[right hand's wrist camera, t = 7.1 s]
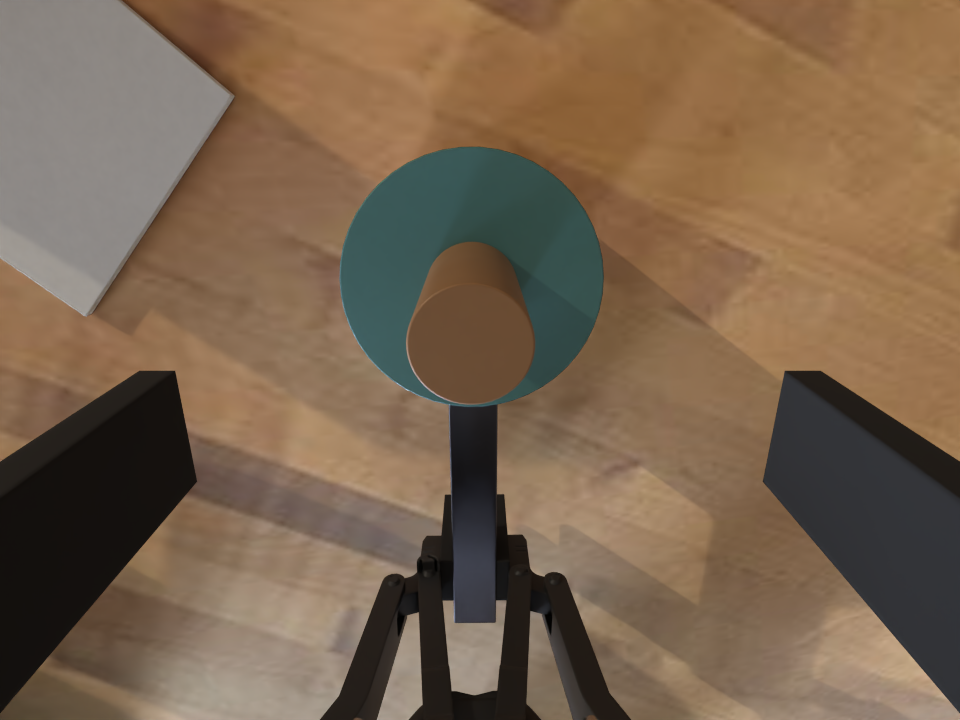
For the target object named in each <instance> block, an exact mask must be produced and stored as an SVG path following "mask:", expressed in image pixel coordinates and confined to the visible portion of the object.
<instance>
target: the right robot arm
mask: <svg viewBox="0 0 960 720" xmlns="http://www.w3.org/2000/svg"><path fill="white" fill-rule="evenodd" d="M196 482H197V479H196V474H195V469H194V464H193V459H192V454H191V449H190V444H189V439H188V434H187V429H186V424H185V418H184V413H183V408H182V403H181V398H180V393H179V388H178V383H177V378H176V373H175V371H139V372H137V373H135V374H134V375H132V376H131V377H129V378H128V379H126V380H125V381H123V382H122V383H120V384H119V385H117V386H116V387H114V388H112V389H111V390H109V391H108V392H106V393H105V394H103V395H102V396H100V397H99V398H97V399H96V400H94V401H93V402H91V403H89V404H88V405H86V406H85V407H83V408H82V409H80V410H79V411H77V412H76V413H74V414H73V415H71V416H69V417H68V418H66V419H65V420H63V421H62V422H60V423H59V424H57V425H56V426H54V427H53V428H51V429H50V430H48V431H46V432H45V433H43V434H42V435H40V436H39V437H37V438H36V439H34V440H33V441H31V442H30V443H28V444H27V445H25V446H23V447H22V448H20V449H19V450H17V451H16V452H14V453H13V454H11V455H10V456H8V457H7V458H5V459H4V460H2V461H0V713H1V712H2V710H3V709H4V708H5V707H6V706H7V705H8V703H9V702H10V701H11V700H12V699H13V697H14V696H15V695H16V694H17V693H18V692H19V690H20V689H21V688H22V687H23V686H24V685H25V683H26V682H27V681H28V680H29V679H30V677H31V676H32V675H33V674H34V673H35V672H36V670H37V669H38V668H39V667H40V666H41V665H42V663H43V662H44V661H45V660H46V659H47V657H48V656H49V655H50V654H51V653H52V652H53V650H54V649H55V648H56V647H57V646H58V645H59V643H60V642H61V641H62V640H63V639H64V637H65V636H66V635H67V634H68V633H69V632H70V630H71V629H72V628H73V627H74V626H75V625H76V623H77V622H78V621H79V620H80V619H81V617H82V616H83V615H84V614H85V613H86V612H87V610H88V609H89V608H90V607H91V606H92V605H93V603H94V602H95V601H96V600H97V599H98V597H99V596H100V595H101V594H102V593H103V592H104V590H105V589H106V588H107V587H108V586H109V585H110V583H111V582H112V581H113V580H114V579H115V578H116V576H117V575H118V574H119V573H120V572H121V570H122V569H123V568H124V567H125V566H126V565H127V563H128V562H129V561H130V560H131V559H132V558H133V556H134V555H135V554H136V553H137V552H138V550H139V549H140V548H141V547H142V546H143V545H144V543H145V542H146V541H147V540H148V539H149V538H150V536H151V535H152V534H153V533H154V532H155V530H156V529H157V528H158V527H159V526H160V525H161V523H162V522H163V521H164V520H165V519H166V518H167V516H168V515H169V514H170V513H171V512H172V510H173V509H174V508H175V507H176V506H177V505H178V503H179V502H180V501H181V500H182V499H183V498H184V496H185V495H186V494H187V493H188V492H189V490H190V489H191V488H192V487H193V486H194V485H195V483H196ZM763 482H764V483H765V485H766V486H767V487H768V488H769V489H770V490H771V492H772V493H773V494H774V495H775V496H776V498H777V499H778V500H779V501H780V502H781V503H782V505H783V506H784V507H785V508H786V509H787V510H788V512H789V513H790V514H791V515H792V516H793V518H794V519H795V520H796V521H797V522H798V523H799V525H800V526H801V527H802V528H803V529H804V530H805V532H806V533H807V534H808V535H809V536H810V538H811V539H812V540H813V541H814V542H815V543H816V545H817V546H818V547H819V548H820V549H821V550H822V552H823V553H824V554H825V555H826V556H827V558H828V559H829V560H830V561H831V562H832V563H833V565H834V566H835V567H836V568H837V569H838V570H839V572H840V573H841V574H842V575H843V576H844V578H845V579H846V580H847V581H848V582H849V583H850V585H851V586H852V587H853V588H854V589H855V590H856V592H857V593H858V594H859V595H860V596H861V597H862V599H863V600H864V601H865V602H866V603H867V605H868V606H869V607H870V608H871V609H872V610H873V612H874V613H875V614H876V615H877V616H878V617H879V619H880V620H881V621H882V622H883V623H884V625H885V626H886V627H887V628H888V629H889V630H890V632H891V633H892V634H893V635H894V636H895V637H896V639H897V640H898V641H899V642H900V643H901V645H902V646H903V647H904V648H905V649H906V650H907V652H908V653H909V654H910V655H911V656H912V657H913V659H914V660H915V661H916V662H917V663H918V665H919V666H920V667H921V668H922V669H923V670H924V672H925V673H926V674H927V675H928V676H929V677H930V679H931V680H932V681H933V682H934V683H935V685H936V686H937V687H938V688H939V689H940V690H941V692H942V693H943V694H944V695H945V696H946V697H947V699H948V700H949V701H950V702H951V703H952V705H953V706H954V707H955V708H956V709H957V710H958V712H959V713H960V461H958V460H956V459H955V458H953V457H952V456H950V455H949V454H947V453H946V452H944V451H943V450H941V449H940V448H938V447H937V446H935V445H933V444H932V443H930V442H929V441H927V440H926V439H924V438H923V437H921V436H920V435H918V434H917V433H915V432H914V431H912V430H910V429H909V428H907V427H906V426H904V425H903V424H901V423H900V422H898V421H897V420H895V419H894V418H892V417H890V416H889V415H887V414H886V413H884V412H883V411H881V410H880V409H878V408H877V407H875V406H874V405H872V404H871V403H869V402H867V401H866V400H864V399H863V398H861V397H860V396H858V395H857V394H855V393H854V392H852V391H851V390H849V389H848V388H846V387H844V386H843V385H841V384H840V383H838V382H837V381H835V380H834V379H832V378H831V377H829V376H828V375H826V374H825V373H823V372H821V371H785V373H784V378H783V383H782V388H781V393H780V398H779V403H778V408H777V413H776V418H775V424H774V429H773V434H772V439H771V444H770V449H769V454H768V459H767V464H766V469H765V474H764V479H763Z"/></svg>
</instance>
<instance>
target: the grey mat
mask: <svg viewBox="0 0 960 720" xmlns="http://www.w3.org/2000/svg"><path fill="white" fill-rule="evenodd" d="M234 97H235V96H234V95H233V94H232V93H231V92H230V91H229V90H227V89H226V88H225V87H224V86H223V85H222V84H220V83H219V82H218V81H217V80H216V79H214V78H213V77H212V76H211V75H210V74H209V73H207V72H206V71H205V70H204V69H203V68H201V67H200V66H199V65H198V64H197V63H195V62H194V61H193V60H192V59H191V58H190V57H188V56H187V55H186V54H185V53H184V52H182V51H181V50H180V49H179V48H178V47H177V46H175V45H174V44H173V43H172V42H171V41H169V40H168V39H167V38H166V37H165V36H163V35H162V34H161V33H160V32H159V31H158V30H156V29H155V28H154V27H153V26H152V25H150V24H149V23H148V22H147V21H146V20H144V19H143V18H142V17H141V16H140V15H139V14H137V13H136V12H135V11H134V10H133V9H131V8H130V7H129V6H128V5H127V4H126V3H124V2H123V1H122V0H0V258H1V259H2V260H4V261H5V262H7V263H8V264H10V265H11V266H13V267H14V268H15V269H17V270H18V271H20V272H21V273H23V274H24V275H26V276H27V277H28V278H30V279H31V280H33V281H34V282H36V283H37V284H39V285H40V286H42V287H43V288H44V289H46V290H47V291H49V292H50V293H52V294H53V295H55V296H56V297H58V298H59V299H60V300H62V301H63V302H65V303H66V304H68V305H69V306H71V307H72V308H74V309H75V310H76V311H78V312H79V313H81V314H82V315H84V316H88V315H91V314H92V313H93V311H94V310H95V308H96V307H97V305H98V303H99V302H100V300H101V299H102V297H103V296H104V294H105V293H106V291H107V290H108V288H109V287H110V285H111V284H112V282H113V281H114V279H115V278H116V276H117V275H118V273H119V272H120V270H121V269H122V267H123V266H124V264H125V263H126V261H127V259H128V258H129V256H130V255H131V253H132V252H133V250H134V249H135V247H136V246H137V244H138V243H139V241H140V240H141V238H142V237H143V235H144V234H145V232H146V231H147V229H148V228H149V226H150V225H151V223H152V222H153V220H154V218H155V217H156V215H157V214H158V212H159V211H160V209H161V208H162V206H163V205H164V203H165V202H166V200H167V199H168V197H169V196H170V194H171V193H172V191H173V190H174V188H175V187H176V185H177V184H178V182H179V181H180V179H181V178H182V176H183V174H184V173H185V171H186V170H187V168H188V167H189V165H190V164H191V162H192V161H193V159H194V158H195V156H196V155H197V153H198V152H199V150H200V149H201V147H202V146H203V144H204V143H205V141H206V140H207V138H208V137H209V135H210V134H211V132H212V130H213V129H214V127H215V126H216V124H217V123H218V121H219V120H220V118H221V117H222V115H223V114H224V112H225V111H226V109H227V108H228V106H229V105H230V103H231V102H232V100H233V99H234Z"/></svg>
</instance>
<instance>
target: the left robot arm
mask: <svg viewBox="0 0 960 720" xmlns="http://www.w3.org/2000/svg"><path fill="white" fill-rule="evenodd" d="M442 600H454V585H453V551H452V511H451V495H445V502H444V514H443V525H442V536H426V538H425V539H424V540H423V544H422V553H421V556H420V557H419V558H418V560H417V573H416V574H415V575H413V576H411V577H408V578H404V577H403V576H402V575H400V574H391V575H388V576H386V577H385V578H384V580H383V581H382V584H381V587H380V589H379V592H378V595H377V597H376V600H375V602H374V605H373V608H372V610H371V613H370V616H369V618H368V621H367V624H366V626H365V629H364V632H363V634H362V637H361V639H360V642H359V645H358V647H357V650H356V653H355V655H354V658H353V661H352V663H351V666H350V669H349V671H348V674H347V676H346V679H345V682H344V684H343V687H342V690H341V692H340V695H339V697H338V698H337V699H336V700H335V702H334V703H333V704H332V705H331V707H330V708H329V709H328V710H327V712H326V713H325V714H324V715H323V717H322V718H321V719H320V720H377V717H378V713H379V710H380V707H381V703H382V700H383V697H384V693H385V690H386V687H387V683H388V680H389V676H390V673H391V670H392V666H393V663H394V660H395V656H396V653H397V650H398V646H399V643H400V639H401V636H402V633H403V629H404V626H405V623H406V619H407V615H410V614H413V613H417V612H419V623H420V647H421V673H422V697H423V705H422V706H421V707H420V708H419V709H418V710H417V711H416V712H415V713H414V714H413V716H412V717H411V718H410V719H409V720H541V719H540V718H539V717H538V716H537V714H536V713H535V712H534V711H533V710H532V709H531V708H530V707H529V706H528V705H527V704H526V699H527V675H528V652H529V628H530V611H533V612H537V613H541V614H542V617H543V620H544V623H545V627H546V630H547V633H548V637H549V640H550V643H551V647H552V650H553V653H554V657H555V660H556V664H557V667H558V670H559V674H560V677H561V680H562V684H563V687H564V690H565V694H566V697H567V700H568V704H569V707H570V711H571V714H572V717H573V720H631V719H630V718H629V717H628V715H627V714H626V713H625V712H624V710H623V709H622V708H621V707H620V705H619V704H618V703H617V702H616V701H615V699H614V698H613V697H612V696H611V694H610V693H609V691H608V688H607V685H606V683H605V680H604V677H603V675H602V672H601V669H600V667H599V664H598V662H597V659H596V656H595V654H594V651H593V648H592V646H591V643H590V640H589V638H588V635H587V633H586V630H585V627H584V625H583V622H582V619H581V617H580V614H579V611H578V609H577V606H576V603H575V601H574V598H573V596H572V593H571V590H570V588H569V585H568V582H567V580H566V578H565V576H563V575H562V574H560V573H557V572H551V573H548V574H546V575H545V577H543V576H539V575H537V574H535V573H533V572H532V570H531V569H530V565H529V557H528V549H527V542H526V539H525V538H524V536H523V535H507V523H506V512H505V500H504V494H497V523H496V600H507V603H506V613H505V624H504V634H503V645H502V655H501V665H500V669H499V679H498V690H497V691H491V692H487V693H483V694H479V695H470V694H465V693H461V692H457V691H451V680H450V670H449V665H448V655H447V644H446V634H445V623H444V612H443V602H442Z"/></svg>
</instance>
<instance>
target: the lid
mask: <svg viewBox="0 0 960 720" xmlns="http://www.w3.org/2000/svg"><path fill="white" fill-rule="evenodd" d="M603 280H604V274H603V260H602V255H601V250H600V245H599V241H598V238H597V236H596V233H595V230H594V227H593V225H592V223H591V221H590V219H589V217H588V215H587V213H586V211H585V210H584V208H583V207H582V205H581V204H580V202H579V201H578V200H577V198H576V197H575V195H574V194H573V193H572V192H571V191H570V190H569V189H568V188H567V187H566V186H565V185H564V184H563V183H562V182H561V181H560V180H559V179H558V178H556V177H555V176H554V175H553V174H551V173H550V172H549V171H547V170H546V169H544V168H543V167H541V166H539V165H538V164H536V163H534V162H533V161H530V160H528V159H526V158H523V157H521V156H519V155H517V154H513V153H510V152H506V151H502V150H499V149H492V148H485V147H457V148H451V149H444V150H440V151H436V152H433V153H430V154H426V155H423V156H421V157H419V158H417V159H415V160H412V161H410V162H408V163H406V164H405V165H403V166H402V167H400V168H399V169H397V170H395V171H394V172H392V173H391V174H390V175H389V176H388V177H386V178H385V179H384V180H383V181H382V182H380V183H379V184H378V185H377V186H376V188H375V189H374V190H373V191H372V192H371V193H370V194H369V195H368V197H367V198H366V199H365V201H364V202H363V204H362V205H361V207H360V208H359V210H358V211H357V213H356V215H355V217H354V219H353V221H352V223H351V225H350V227H349V229H348V233H347V236H346V239H345V242H344V245H343V250H342V256H341V262H340V289H341V298H342V302H343V307H344V311H345V314H346V317H347V320H348V322H349V325H350V328H351V330H352V332H353V334H354V336H355V338H356V340H357V341H358V343H359V345H360V346H361V348H362V349H363V350H364V352H365V353H366V355H367V356H368V357H369V359H370V360H371V361H372V362H373V363H374V364H375V365H376V366H377V367H378V368H379V369H380V370H381V371H382V372H383V373H384V374H385V375H387V376H388V377H389V378H390V379H391V380H393V381H394V382H396V383H397V384H399V385H400V386H402V387H403V388H405V389H407V390H409V391H411V392H412V393H414V394H416V395H418V396H421V397H424V398H426V399H429V400H432V401H435V402H439V403H444V404H448V405H455V406H465V407H475V406H489V405H496V404H501V403H505V402H508V401H512V400H515V399H518V398H520V397H523V396H525V395H528V394H530V393H532V392H534V391H535V390H537V389H539V388H541V387H543V386H544V385H545V384H547V383H548V382H550V381H551V380H553V379H554V378H555V377H556V376H558V375H559V374H560V373H561V372H562V371H563V370H564V369H565V368H566V367H567V366H568V365H569V364H570V363H571V362H572V361H573V359H574V358H575V357H576V356H577V355H578V353H579V352H580V350H581V349H582V347H583V346H584V344H585V343H586V341H587V339H588V337H589V335H590V333H591V331H592V329H593V327H594V324H595V321H596V319H597V316H598V313H599V309H600V304H601V299H602V294H603Z"/></svg>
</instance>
